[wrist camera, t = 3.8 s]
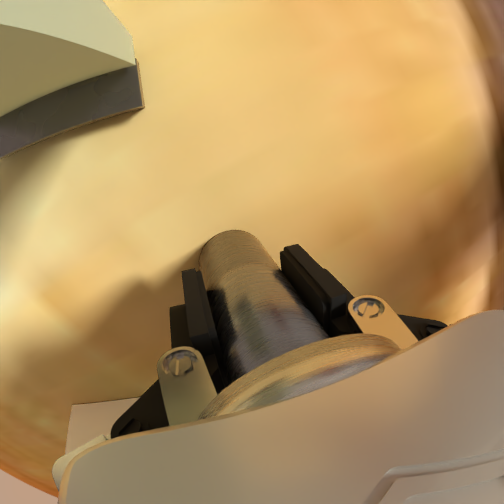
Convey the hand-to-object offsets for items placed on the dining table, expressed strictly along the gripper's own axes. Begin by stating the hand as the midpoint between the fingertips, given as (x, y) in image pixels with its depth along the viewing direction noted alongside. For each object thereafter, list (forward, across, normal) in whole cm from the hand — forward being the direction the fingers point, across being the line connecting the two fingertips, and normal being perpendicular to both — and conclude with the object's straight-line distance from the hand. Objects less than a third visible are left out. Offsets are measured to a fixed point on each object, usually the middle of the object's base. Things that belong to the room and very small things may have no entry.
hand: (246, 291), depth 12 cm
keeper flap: (+2, +6, -10) cm, 12 cm away
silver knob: (+3, 0, 0) cm, 3 cm away
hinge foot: (+3, +6, -9) cm, 11 cm away
